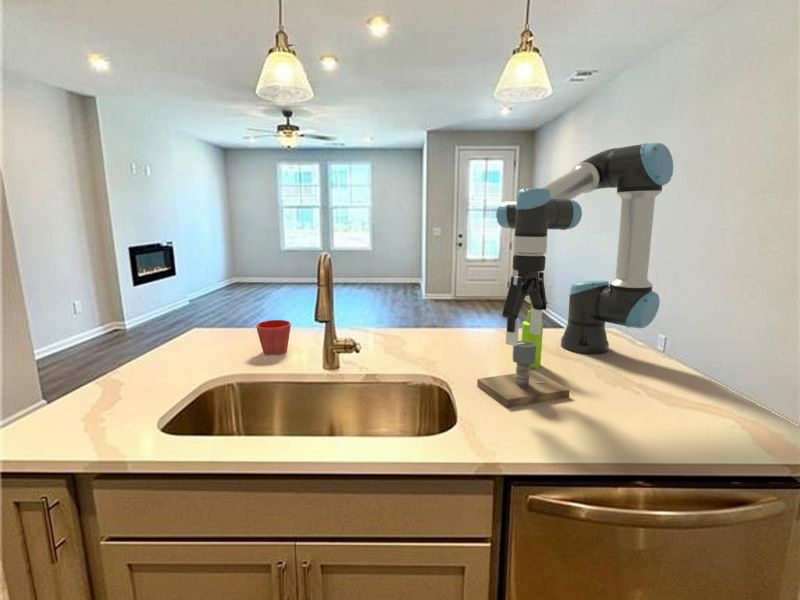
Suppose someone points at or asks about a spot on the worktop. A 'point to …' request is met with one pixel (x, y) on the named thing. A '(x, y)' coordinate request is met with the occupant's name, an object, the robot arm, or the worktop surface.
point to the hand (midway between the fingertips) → (523, 339)
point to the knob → (524, 352)
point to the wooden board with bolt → (522, 387)
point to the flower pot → (274, 336)
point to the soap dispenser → (533, 338)
